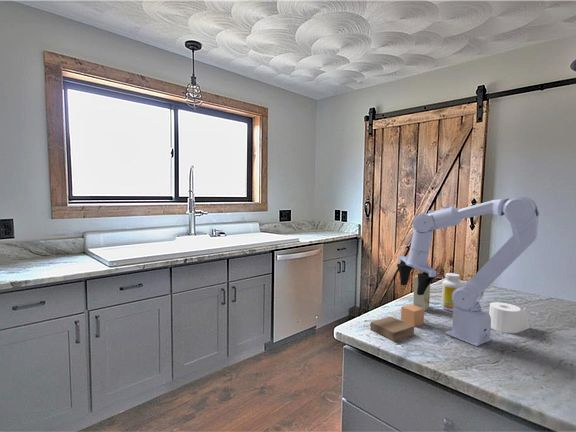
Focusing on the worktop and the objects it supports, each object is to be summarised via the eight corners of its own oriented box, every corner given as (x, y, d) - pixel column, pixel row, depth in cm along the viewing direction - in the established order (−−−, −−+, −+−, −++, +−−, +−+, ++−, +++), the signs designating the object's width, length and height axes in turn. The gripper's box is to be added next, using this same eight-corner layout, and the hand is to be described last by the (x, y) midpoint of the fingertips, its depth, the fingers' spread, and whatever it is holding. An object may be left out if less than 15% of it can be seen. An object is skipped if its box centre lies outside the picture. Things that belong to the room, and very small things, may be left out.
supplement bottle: (464, 312, 116) (466, 276, 115) (446, 311, 117) (447, 276, 116) (455, 305, 123) (457, 272, 122) (438, 305, 123) (439, 272, 122)
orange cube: (423, 323, 106) (424, 308, 106) (413, 326, 104) (414, 311, 103) (410, 318, 111) (411, 304, 110) (400, 321, 108) (401, 306, 108)
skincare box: (425, 311, 116) (426, 278, 116) (412, 309, 119) (413, 276, 118) (429, 306, 122) (431, 274, 121) (417, 304, 124) (418, 272, 123)
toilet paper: (529, 328, 103) (531, 306, 103) (510, 335, 98) (512, 313, 97) (502, 319, 110) (503, 299, 110) (483, 325, 105) (484, 304, 104)
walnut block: (413, 336, 98) (414, 326, 98) (393, 342, 93) (393, 332, 93) (390, 325, 105) (390, 316, 105) (370, 331, 101) (370, 321, 101)
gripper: (394, 243, 110) (387, 281, 112) (427, 257, 97) (418, 300, 99) (410, 243, 113) (403, 280, 115) (444, 257, 99) (435, 298, 102)
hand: (411, 289), depth 107 cm, fingers open, 7 cm apart
